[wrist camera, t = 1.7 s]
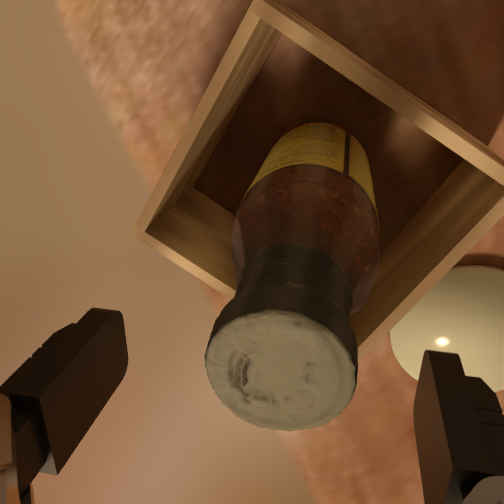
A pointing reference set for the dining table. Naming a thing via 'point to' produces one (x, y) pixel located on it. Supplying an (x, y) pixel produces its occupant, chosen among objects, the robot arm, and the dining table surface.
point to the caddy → (401, 247)
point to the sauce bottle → (298, 282)
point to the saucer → (458, 324)
